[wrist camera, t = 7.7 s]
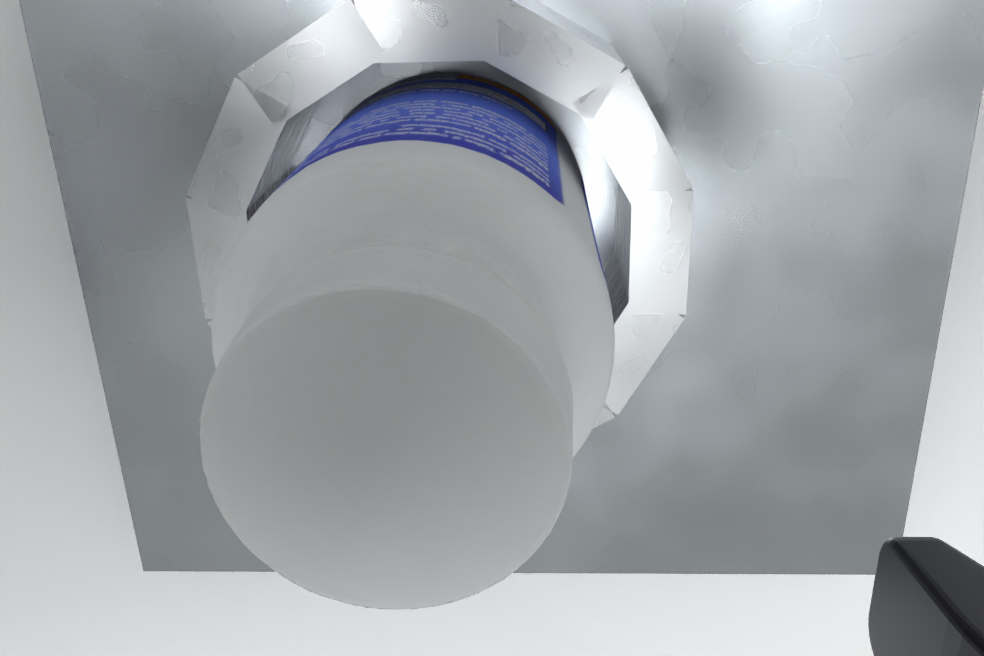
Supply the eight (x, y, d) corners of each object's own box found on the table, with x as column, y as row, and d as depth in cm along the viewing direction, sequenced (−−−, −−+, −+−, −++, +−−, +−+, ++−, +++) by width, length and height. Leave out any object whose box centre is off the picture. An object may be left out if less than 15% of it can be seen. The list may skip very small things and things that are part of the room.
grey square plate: (155, 550, 23) (89, 659, 20) (31, -49, 18) (-93, -43, 14) (884, 553, 22) (948, 668, 19) (991, -78, 17) (1110, -80, 13)
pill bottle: (265, 166, 18) (7, 390, 9) (491, 9, 17) (437, 98, 8) (423, 373, 20) (328, 730, 11) (639, 245, 19) (731, 535, 10)
